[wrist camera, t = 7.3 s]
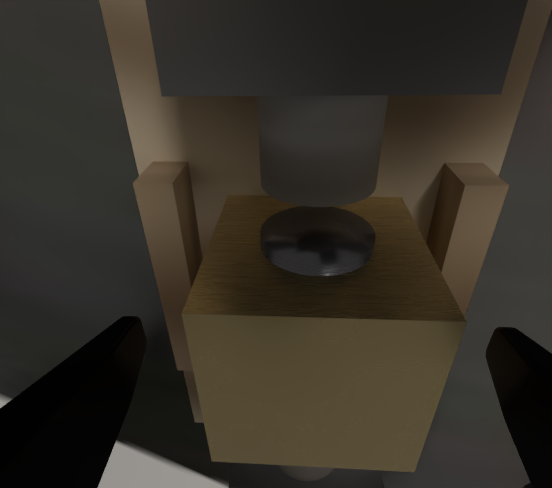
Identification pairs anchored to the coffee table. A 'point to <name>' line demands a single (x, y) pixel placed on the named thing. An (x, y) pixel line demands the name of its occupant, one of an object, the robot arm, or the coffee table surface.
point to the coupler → (320, 334)
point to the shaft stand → (319, 130)
